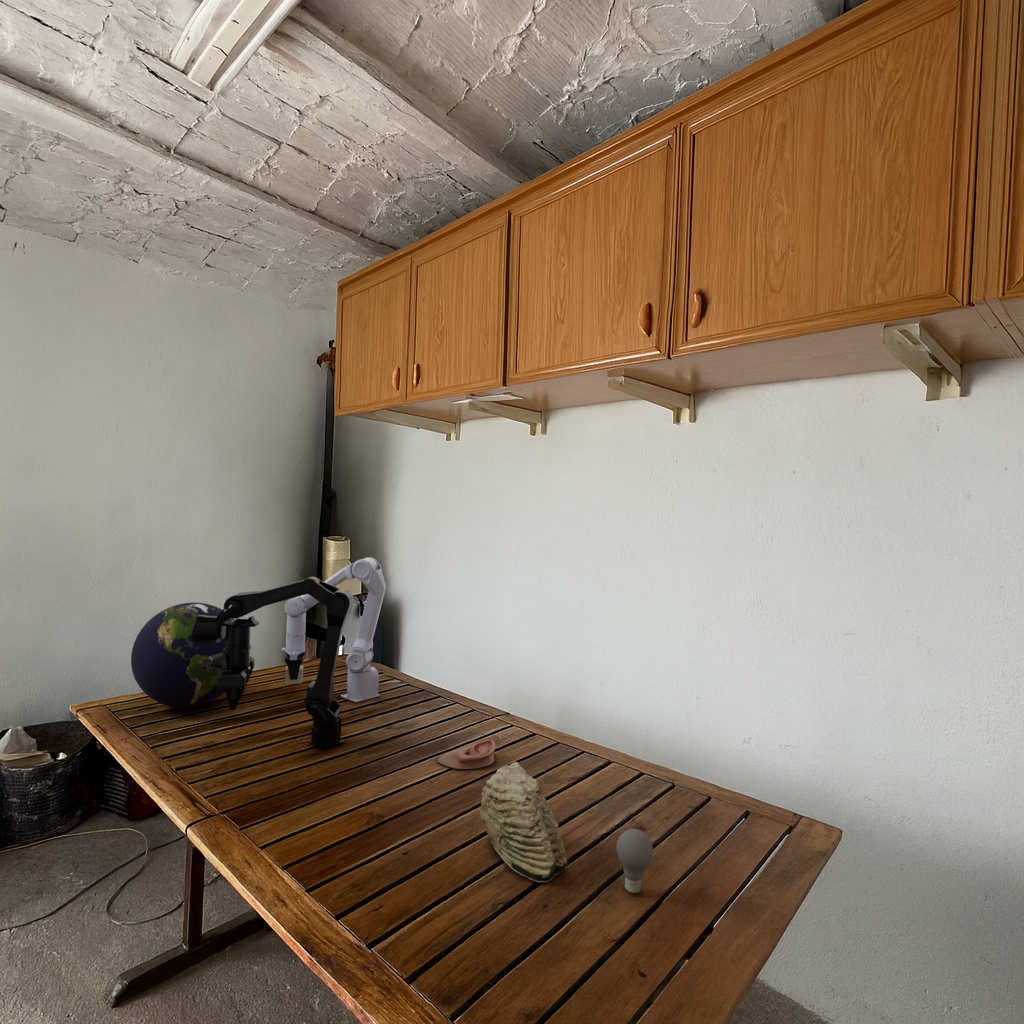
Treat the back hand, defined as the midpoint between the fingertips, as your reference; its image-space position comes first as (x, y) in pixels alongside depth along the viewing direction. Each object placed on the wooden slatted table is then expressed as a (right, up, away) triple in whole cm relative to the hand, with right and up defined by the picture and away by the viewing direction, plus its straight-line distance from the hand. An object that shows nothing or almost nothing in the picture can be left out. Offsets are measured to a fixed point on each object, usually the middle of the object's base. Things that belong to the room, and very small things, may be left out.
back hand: (294, 677), depth 201 cm
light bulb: (+89, -11, -95) cm, 131 cm away
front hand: (-1, +4, -40) cm, 41 cm away
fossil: (+70, -10, -86) cm, 112 cm away
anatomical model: (+58, -9, -46) cm, 74 cm away
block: (0, -1, 0) cm, 1 cm away
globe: (-26, -4, -15) cm, 30 cm away
